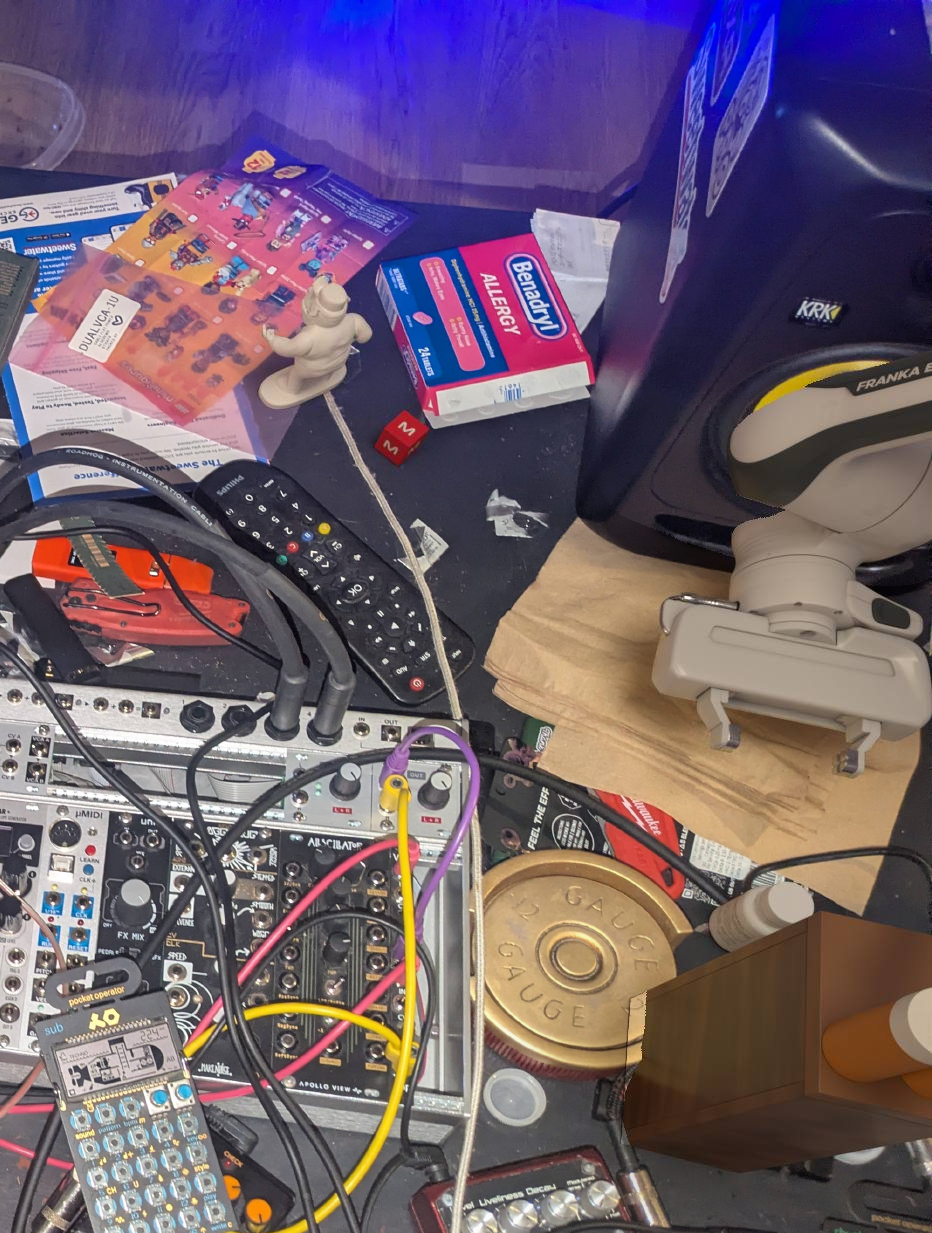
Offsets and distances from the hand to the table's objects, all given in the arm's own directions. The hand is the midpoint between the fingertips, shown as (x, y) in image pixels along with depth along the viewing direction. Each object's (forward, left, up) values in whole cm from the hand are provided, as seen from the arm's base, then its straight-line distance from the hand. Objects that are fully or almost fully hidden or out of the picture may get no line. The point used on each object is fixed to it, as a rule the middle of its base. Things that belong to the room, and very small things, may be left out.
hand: (786, 761), depth 109 cm
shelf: (+3, +26, +16) cm, 31 cm away
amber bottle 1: (+5, +29, +18) cm, 34 cm away
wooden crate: (+3, +26, -7) cm, 27 cm away
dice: (+32, -29, -8) cm, 44 cm away
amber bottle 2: (+1, +29, +18) cm, 34 cm away
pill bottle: (-1, +12, -8) cm, 14 cm away
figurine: (+42, -35, -8) cm, 55 cm away
